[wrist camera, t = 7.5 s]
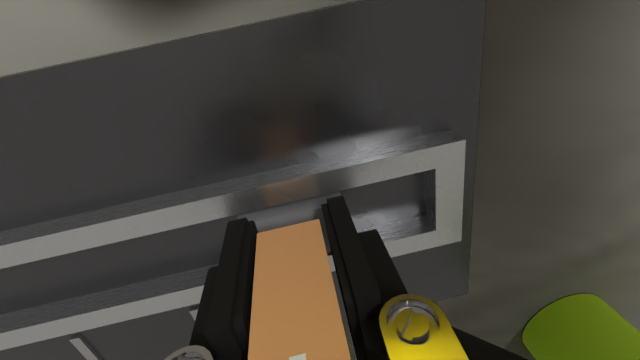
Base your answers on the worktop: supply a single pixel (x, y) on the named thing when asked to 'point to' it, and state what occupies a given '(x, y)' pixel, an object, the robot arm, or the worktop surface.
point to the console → (230, 165)
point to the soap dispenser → (581, 331)
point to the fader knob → (294, 285)
